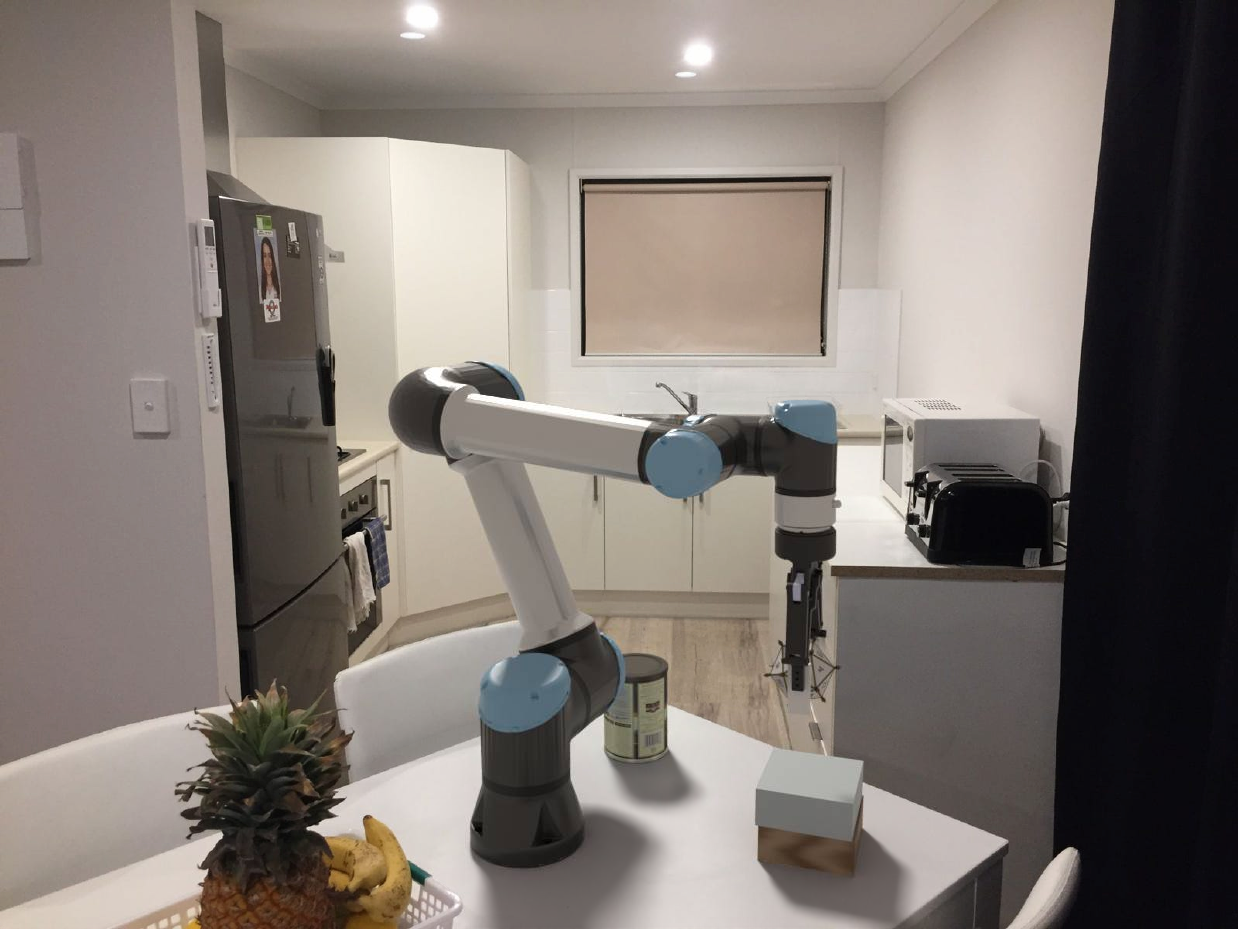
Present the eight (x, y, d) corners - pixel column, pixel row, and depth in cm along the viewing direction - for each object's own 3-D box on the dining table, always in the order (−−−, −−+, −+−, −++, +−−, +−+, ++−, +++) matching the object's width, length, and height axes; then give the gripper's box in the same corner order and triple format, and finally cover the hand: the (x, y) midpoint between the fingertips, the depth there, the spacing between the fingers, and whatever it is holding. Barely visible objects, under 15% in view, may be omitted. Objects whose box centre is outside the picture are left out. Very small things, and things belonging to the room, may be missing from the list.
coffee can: (624, 729, 165) (624, 648, 163) (679, 744, 160) (680, 660, 157) (590, 753, 156) (589, 668, 154) (646, 770, 151) (647, 681, 149)
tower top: (755, 825, 126) (755, 788, 125) (773, 782, 137) (773, 748, 137) (851, 842, 122) (853, 804, 122) (862, 796, 133) (863, 761, 133)
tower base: (757, 862, 127) (758, 826, 126) (773, 815, 138) (774, 782, 137) (853, 879, 123) (855, 842, 122) (862, 830, 134) (863, 795, 134)
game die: (813, 733, 126) (836, 691, 119) (750, 705, 128) (770, 662, 121) (831, 679, 133) (854, 636, 125) (770, 653, 134) (790, 609, 127)
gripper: (824, 547, 113) (823, 737, 116) (845, 509, 132) (843, 673, 136) (758, 543, 115) (759, 729, 119) (789, 507, 135) (788, 667, 138)
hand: (804, 699), depth 127 cm, fingers closed on game die, 8 cm apart
